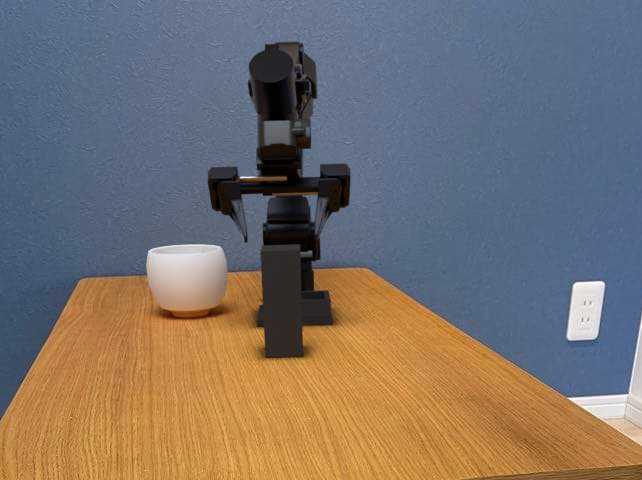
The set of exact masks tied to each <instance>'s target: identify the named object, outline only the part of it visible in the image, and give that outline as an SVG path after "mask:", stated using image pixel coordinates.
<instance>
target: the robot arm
mask: <svg viewBox="0 0 642 480" xmlns="http://www.w3.org/2000/svg"><path fill="white" fill-rule="evenodd" d="M248 71H249V78H248V79H247V88H248V95H249V98H250V100H251V102H252V104H253V107H254V110H255V112H256V113H257V115H256V117H257V120H256V121H257V122H256V123H257V125H256V126H257V127H256V128H257V146H256V149H255V151H256V152H255V154H256V155H255V157H256V158H255V159H256V163H255V164H256V171H257V175H241V176H240V175H239V167H238V166H237V165H235V166H234V165H233V166H228V165H227V166H211V167H210V169H209V170H208V171H207V186H208V193H209V199H210V206H211V210H213V211H215V212H220V213H221V214H222V215H223V216H229V218H230V219H231V220H232V221H233V223H234V225H235V226H236V228H237V230H238V231H239V234H240V236H241V238H242V240H243V242H244V243H246V244H247V243H249V241H248V239H249V238H248V237H249V236H248V229H247V228H248V226H247V220H246V215H245V214H246V213H245V209H244V203H243V195H262V197H269V200H268V201H267V208H266V222H262V245H296V244H299V245H300V257H301V291H315V271H314V269H313V262H317V261H321V258H322V257H321V253H322V251H321V234H322V232H323V230H324V227H325V225H326V223H327V222H328V220H329V218H331V215H332V214H333V213H338V212H339V211H340V210H341V209H345V208H347V207H348V206H350V196H351V181H352V180H351V178H352V177H351V175H352V174H351V168H350V166H349V165H348V164H347V163H346V162H344V163H343V162H342V163H340V162H339V163H338V162H337V163H320V164H319V176H304V150H311V149H312V122H311V121H312V119H311V117H313V115H314V100H318V72H317V63H316V62H315V60H314V59H312V58H311V57H310V56H309V54H307V53H306V52H305V45H304V42H300V41H299V40H296V41H292V40H291V41H276V42H274V43H264V50H262V51H259V52H257V53H256V54H255V55H254V56H253V57H252V58H251V60H250V61H249V62H248ZM307 196H317V197H316V208H315V217H314V221H312V212H311V206H310V204H309V200H308V198H307Z"/></svg>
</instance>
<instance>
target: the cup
mask: <svg viewBox="0 0 642 480" xmlns="http://www.w3.org/2000/svg"><path fill="white" fill-rule="evenodd" d="M145 267H146V277H147V283H148V286H149V288H150V289H149V290H150V291H151V294H152V296H153V299H154V301H155V302H156V303H157V305H158V306H159V307H160V308H161V309H163V310H165V311H169V312H170V313H172V316H173V317H176V318H184V319H186V318H187V319H189V318H199V317H204V316H207V315H208V314H210V310H212V309H214V308H216V307H218V306H219V305H220V304H221V303H222V301H223V299H224V297H225V295H226V291H227V287H228V282H229V274H228V261H227V258H226V255H225V252H224V249H223V248H222V247H221V246H219V245H214V244H203V243H201V244H200V243H199V244H198V243H197V244H191V243H190V244H173V245H165V246H159V247H154V248H151V249H149V250H148V251H147V257H146V264H145Z"/></svg>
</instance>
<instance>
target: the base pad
mask: <svg viewBox="0 0 642 480" xmlns="http://www.w3.org/2000/svg"><path fill="white" fill-rule="evenodd" d="M301 293H302V326H319V325H321V326H322V325H325V326H326V325H333V314H332V303H331V302H332V300H331V295H330V290H328V289H326V290H325V289H324V290H314V291H301ZM257 311H258V312H257V318H256V327H264V315H263V304H259V305H258V310H257Z"/></svg>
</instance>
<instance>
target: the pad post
mask: <svg viewBox="0 0 642 480" xmlns="http://www.w3.org/2000/svg"><path fill="white" fill-rule="evenodd" d="M259 253H260V270H261V291H262V293H261V294H262V305H263V315H264V326H263V331H264V332H263V333H264V334H263V335H264V355H265V358H267V359H269V358H300V357H301V358H303V357H304V334H303V329H304V328H303V325H302V293H301V257H300V253H301V252H300V245H299V244H296V245H263V244H262V245H261V247H260V252H259Z"/></svg>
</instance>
